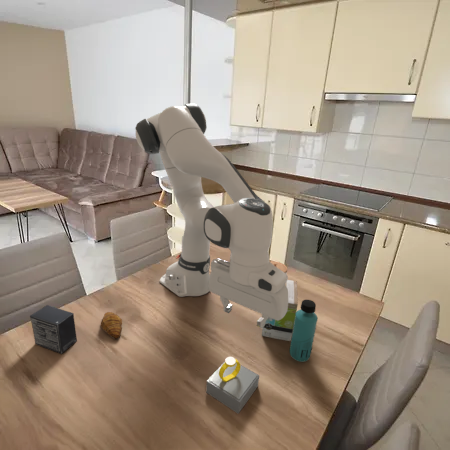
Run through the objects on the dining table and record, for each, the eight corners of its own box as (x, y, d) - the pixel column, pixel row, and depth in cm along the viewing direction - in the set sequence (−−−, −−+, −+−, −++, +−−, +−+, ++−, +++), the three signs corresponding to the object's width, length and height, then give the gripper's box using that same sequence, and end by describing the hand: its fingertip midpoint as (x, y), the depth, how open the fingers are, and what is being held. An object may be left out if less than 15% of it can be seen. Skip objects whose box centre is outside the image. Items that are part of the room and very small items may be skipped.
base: (206, 392, 80) (206, 380, 78) (227, 368, 88) (228, 357, 86) (238, 413, 75) (239, 401, 73) (257, 386, 83) (259, 374, 81)
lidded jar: (256, 283, 132) (258, 264, 129) (266, 273, 141) (269, 255, 138) (279, 292, 127) (282, 272, 124) (288, 281, 136) (291, 262, 132)
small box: (78, 340, 94) (75, 312, 91) (61, 354, 89) (57, 325, 85) (52, 331, 97) (47, 303, 94) (34, 344, 92) (28, 315, 88)
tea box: (291, 342, 100) (298, 304, 94) (261, 336, 101) (266, 298, 96) (291, 314, 113) (297, 280, 108) (264, 309, 115) (269, 275, 110)
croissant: (96, 319, 104) (95, 307, 102) (117, 313, 108) (116, 302, 106) (106, 344, 94) (104, 331, 92) (128, 337, 97) (127, 324, 95)
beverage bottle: (297, 369, 89) (308, 312, 82) (283, 353, 95) (292, 299, 87) (314, 362, 92) (326, 306, 85) (299, 347, 97) (309, 294, 90)
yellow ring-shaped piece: (223, 387, 77) (223, 370, 75) (217, 379, 79) (217, 362, 77) (242, 376, 80) (242, 359, 78) (235, 368, 82) (236, 352, 80)
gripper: (204, 260, 73) (202, 308, 78) (283, 290, 63) (275, 343, 68) (218, 251, 78) (216, 297, 83) (294, 277, 68) (286, 328, 73)
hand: (243, 318), depth 75 cm, fingers open, 8 cm apart
